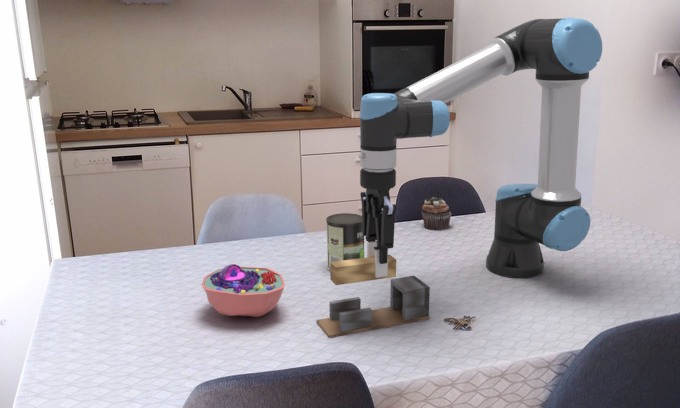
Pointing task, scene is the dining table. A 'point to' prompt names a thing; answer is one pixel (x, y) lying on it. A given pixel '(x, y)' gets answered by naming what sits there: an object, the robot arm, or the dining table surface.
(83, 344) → the dining table surface
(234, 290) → the cell model
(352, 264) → the brass rectangular bar
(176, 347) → the dining table surface
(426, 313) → the cap board
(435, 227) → the cupcake
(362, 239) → the coffee can
